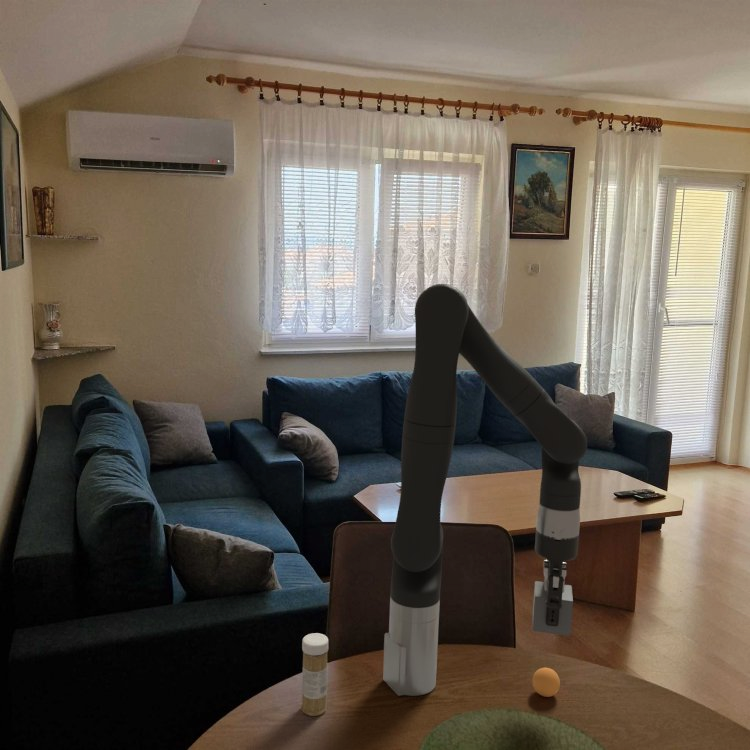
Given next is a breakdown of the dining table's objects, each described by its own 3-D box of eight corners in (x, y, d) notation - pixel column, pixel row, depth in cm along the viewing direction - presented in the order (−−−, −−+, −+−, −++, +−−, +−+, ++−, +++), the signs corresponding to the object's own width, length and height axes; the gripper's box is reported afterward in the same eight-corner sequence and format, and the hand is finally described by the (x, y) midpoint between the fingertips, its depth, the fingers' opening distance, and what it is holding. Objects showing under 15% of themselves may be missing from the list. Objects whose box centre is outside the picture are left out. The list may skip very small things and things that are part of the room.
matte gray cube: (570, 636, 129) (573, 601, 128) (532, 630, 130) (534, 596, 129) (568, 618, 135) (571, 585, 134) (532, 614, 136) (535, 581, 135)
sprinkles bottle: (314, 698, 131) (316, 629, 129) (332, 709, 128) (333, 638, 126) (295, 709, 128) (296, 638, 126) (313, 720, 125) (314, 648, 123)
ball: (549, 680, 130) (547, 705, 131) (566, 670, 133) (565, 695, 134) (527, 668, 134) (526, 693, 135) (544, 659, 137) (543, 683, 138)
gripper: (536, 513, 138) (530, 596, 140) (536, 541, 124) (530, 632, 126) (577, 518, 136) (570, 601, 138) (581, 546, 122) (574, 638, 125)
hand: (551, 615), depth 132 cm, fingers closed on matte gray cube, 6 cm apart
